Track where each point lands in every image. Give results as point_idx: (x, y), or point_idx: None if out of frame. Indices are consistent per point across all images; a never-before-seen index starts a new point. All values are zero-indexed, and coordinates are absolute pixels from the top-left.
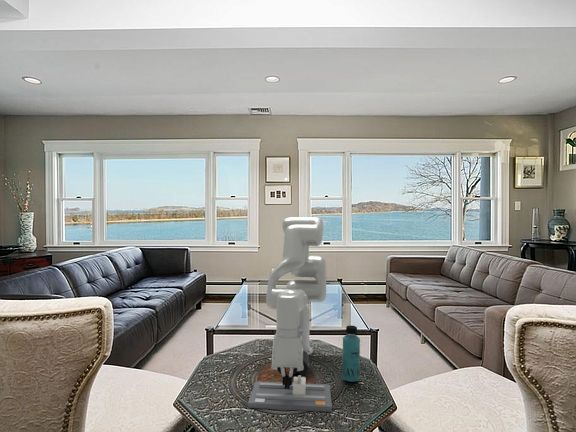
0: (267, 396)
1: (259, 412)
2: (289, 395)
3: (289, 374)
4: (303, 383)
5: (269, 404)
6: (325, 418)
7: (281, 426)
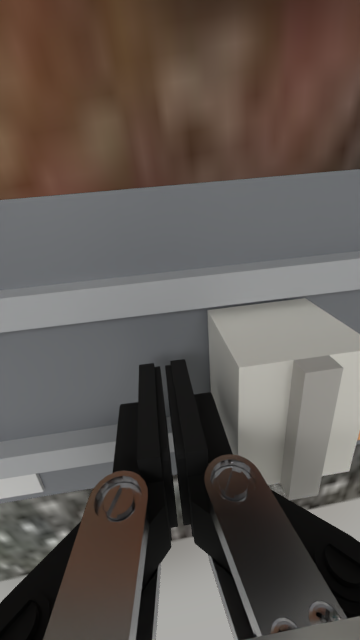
0: (41, 468)
1: (47, 496)
2: None
3: (217, 557)
4: (334, 463)
5: (82, 487)
6: (356, 460)
7: (176, 536)
